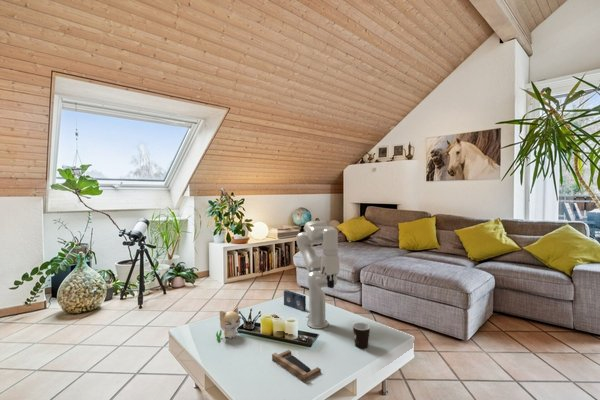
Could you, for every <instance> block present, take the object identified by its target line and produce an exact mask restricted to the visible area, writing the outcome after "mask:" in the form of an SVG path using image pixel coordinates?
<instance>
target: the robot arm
mask: <svg viewBox="0 0 600 400" xmlns="http://www.w3.org/2000/svg"><path fill="white" fill-rule="evenodd" d="M303 229H304V231H301V232H299V233H298V234H296V238H295V239H296V245H297V247H298V250H299V252H300V253H301V254H302V257H303V261H304V264H305V267H306V270H307V272H308V275H307V285H308V294H309V295H308V299H309V301H308V306H309V307H308V309H309V312H307V314H306V315H305V318H307V319H308V320H306V325H307V327H309V328H311V329H317V330H318V329H324V328H326V327H328V325H329V321H328V320H327V319H326V294H325V291H324V290H323V289H322V288H329V289H333V288H334V287H335V286H336V285H337V283H338V275H339V272H340V257H339V253H338V252H339V247H338V246H339V243H338V242H339V240H338V239H339V238H338V236H339V231H338V230H337V229H336V228H335V227H334V226H330V225H328V223H327V222H326V221H325V220H311V221H310V220H309V221H307V222H306V223H305V224H304V227H303ZM320 244H323V245H322V249H323V250H322V255H321V256H319V255H318V254H317V251H316V250H315V249H314V248H313V247H312V245H320ZM310 245H311V246H310Z"/></svg>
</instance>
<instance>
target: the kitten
mask: <svg viewBox="0 0 600 400" xmlns="http://www.w3.org/2000/svg"><path fill="white" fill-rule="evenodd" d="M219 325H220V326H219V327H220V330H219V331H218V330H217V331H216V334H215V337H216V340H217V341H221V337H222V331H223V335H224V337H226V338H229V339H231V340H232V339H234V338H235V337H236V335H237V329H238V328H239V327H240V325H241V318H240V315H239V307H238V306H235V308H234V309H233V310H229V311H223V310H219ZM218 332H219V333H218Z"/></svg>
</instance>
